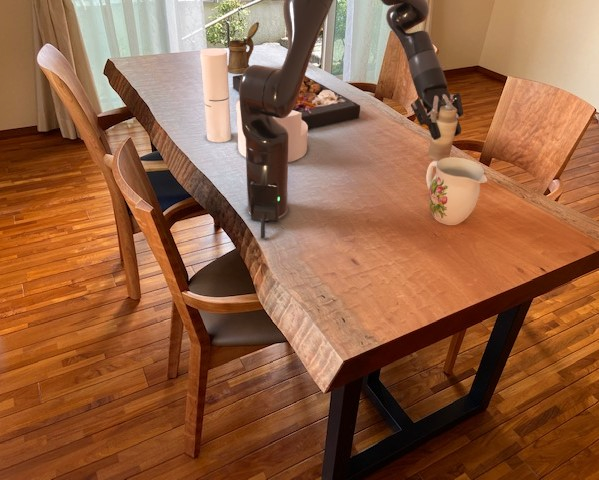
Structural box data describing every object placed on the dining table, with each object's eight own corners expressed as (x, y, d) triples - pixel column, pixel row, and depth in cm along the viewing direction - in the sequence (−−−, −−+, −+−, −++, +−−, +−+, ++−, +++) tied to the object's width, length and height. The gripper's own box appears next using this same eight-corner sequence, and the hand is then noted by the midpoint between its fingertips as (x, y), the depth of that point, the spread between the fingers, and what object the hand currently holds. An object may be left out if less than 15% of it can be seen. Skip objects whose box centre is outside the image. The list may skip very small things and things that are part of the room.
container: (320, 146, 146) (323, 102, 138) (277, 170, 133) (277, 123, 125) (269, 128, 156) (268, 86, 148) (223, 149, 143) (221, 104, 135)
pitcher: (440, 193, 127) (452, 143, 119) (489, 230, 113) (505, 177, 105) (404, 201, 123) (413, 150, 115) (450, 240, 110) (464, 186, 102)
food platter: (359, 118, 165) (362, 87, 159) (296, 132, 154) (296, 100, 148) (289, 78, 196) (290, 51, 189) (233, 88, 185) (231, 59, 179)
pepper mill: (450, 162, 125) (463, 108, 117) (428, 160, 126) (439, 107, 118) (447, 152, 130) (459, 100, 122) (426, 150, 130) (436, 98, 122)
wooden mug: (263, 71, 202) (262, 24, 191) (230, 74, 197) (228, 26, 187) (256, 65, 208) (255, 19, 198) (224, 67, 204) (222, 21, 193)
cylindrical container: (226, 143, 146) (221, 56, 131) (203, 140, 147) (196, 54, 132) (234, 134, 152) (230, 49, 137) (211, 131, 153) (205, 47, 138)
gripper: (411, 69, 118) (433, 135, 117) (458, 63, 124) (480, 126, 122) (395, 84, 125) (415, 146, 124) (441, 77, 131) (460, 138, 129)
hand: (447, 136), depth 123 cm, fingers closed on pepper mill, 5 cm apart
